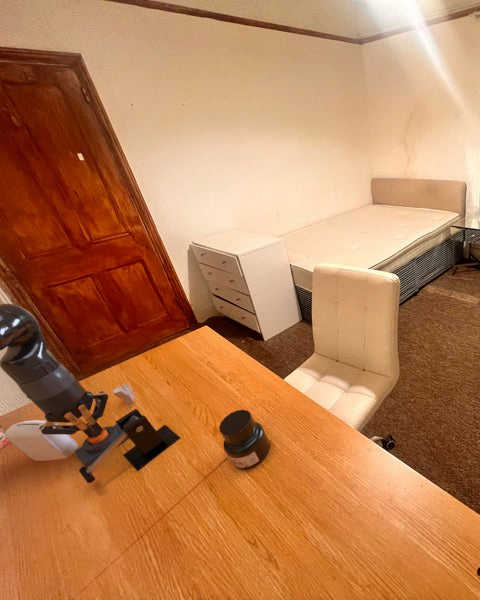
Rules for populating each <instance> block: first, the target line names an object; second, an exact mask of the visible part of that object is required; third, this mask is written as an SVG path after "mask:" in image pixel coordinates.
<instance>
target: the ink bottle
mask: <svg viewBox="0 0 480 600" xmlns="http://www.w3.org/2000/svg"><path fill="white" fill-rule="evenodd" d="M218 429H219V433H220V435H221V437H222V438H223V439H224V440H223V450H224V452H225V454H226V455H227V457H228V459H229V460H230V463H231V464H232V465H233V466H234V467H235V468H237V469H241V470H249V469H253V468H255V467H256V466H258V465H259V464H260V463H261V462H262V461H263V460H265V458H266V457H267V456H268V454H269V451H270V449H271V442H270V439H269V437H268V435H267V433H266V431H265V429H264V427H263V425H262V424H261V423H260V422H258V421H255V420H254V418H253V415H252V414H251V412H249V410H246V409H238V410H237V409H236V410H235V411H233V412H230V413H229V414H227V415H226V416H225V417H224V418H223V419H222V420H221V421H220V424H219V426H218Z"/></svg>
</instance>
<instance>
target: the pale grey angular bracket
mask: <svg viewBox="0 0 480 600" xmlns="http://www.w3.org/2000/svg"><path fill="white" fill-rule="evenodd" d="M112 394H113V395H114V396H116V397H117V398H119V399H120V400H121V399H123V401H124V402H125V404H126V405H130V404H132V403H135V399H136V393H135V392H134V391H133V389H132V388H131V386H130V385H129V384H123V385H120V386H119V387H117V388H114V389H112Z"/></svg>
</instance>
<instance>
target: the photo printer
mask: <svg viewBox="0 0 480 600" xmlns="http://www.w3.org/2000/svg"><path fill="white" fill-rule="evenodd" d="M45 422H46V420H41V419H40V420H39V419H36V420H35V419H34V420H24V421H19V422H17V423H13V424H11V426H10V427H8V428H6V430H5V434H4V436H5V439H6V440H7V441H9V442H10V443H11V444H12V445H14V446H15V447H16V448H17V449H19V450H20V451H21V452H22V453H23V454H25V455H26V456H28V457H29V458H30V459H31V460H33V461H35V462H51V461H58V460H66V459H68V458H69V457H71V456H72V455H74V454H76V453H75V452H74V451H76V450H77V449H79V448H80V445H79V444H78V443H77V442H76V440H74V439H73V438H72V437H71V436H70V435H57V434H42V432H41V431H40V429H39V427H40V426H42V425H44V423H45ZM53 423H55V424H56V425H58V424H57V422H53Z"/></svg>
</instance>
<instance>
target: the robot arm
mask: <svg viewBox="0 0 480 600" xmlns="http://www.w3.org/2000/svg"><path fill="white" fill-rule="evenodd" d="M4 349H6V351H5V353H4V354H3V355H2V357H1V358H0V369H1V370H2V371H3V372H4V373H5V374H6V375H7V376H8V377H9V378H10V379H11V380H12V381H13V382H15V384H16V385H17V386H18V387H19V389H20V391H21V392H22V393H23V394H24V395H25V397H26V398H27V399H28V400H30V401H31V402H32V403H33V404H34V405H35V406H36V407H37V408H38V409H39V410H40V411H41V412H43V413H44V418H45V421H46V422H45V423H44V425H42V426H40V427H39V429H40V431H41V432H42V434H57V435H69V436H70V435H71V436H72V435H75V434H76V433H77V432H79V431H82V432H83V433H84V434H85V435H86V436H87V438H88V437H90V438H91V437H93V436H94V437H97V436H98V435H100V434H101V432H100V431H102V428H103V427H102V426H101V425H100V424H99V422H97V421H98V419H101V418H103V416H104V413H105V411H106V406H107V403H108V400H109V394H108V393H106V392H105V391H103V390H101V391H99V392H98V393H92V392H91V391H88V390H86V389H85V388H84V386H83V385H82V384H81V383H80V382H79V380H78V379H76V377H75V376H74V374H73V373H72V372H71V371H70V370H69V369H68V368H67V367H66V366H65V365H63V364H62V363H61V362H60V361H59V360H58V359H57V358H56V357H55V355H54V354H53V352H51V351H50V350H49V348H48V347H47V343H46V340H45V337H44V335H43V332H42V329H41V327H40V324H39V322H38V320H37V319H36V317H35V316H34V315H33V314H32V312H30V311H29V310H27V309H26V308H24V307H22V306H20V305H17V304H14V303H0V351H3V350H4ZM93 402H95V404H94V403H93ZM93 404H94V408H93V410H92V413H91V412H90V411H91V409H92V407H93ZM81 417H83V418H84V420H85V421H86V422H85V421H83V420H82V419H80V418H81ZM53 422H54V423H53ZM55 423H56V424H57V423H61V424H57V425H56V424H55ZM69 423H71V424H72V425H71V424H69ZM94 431H95V432H96V433H97V434H98V435H97V434H96V433H95V432H94Z"/></svg>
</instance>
